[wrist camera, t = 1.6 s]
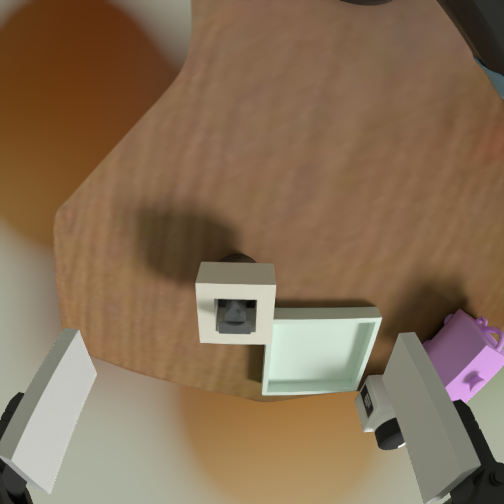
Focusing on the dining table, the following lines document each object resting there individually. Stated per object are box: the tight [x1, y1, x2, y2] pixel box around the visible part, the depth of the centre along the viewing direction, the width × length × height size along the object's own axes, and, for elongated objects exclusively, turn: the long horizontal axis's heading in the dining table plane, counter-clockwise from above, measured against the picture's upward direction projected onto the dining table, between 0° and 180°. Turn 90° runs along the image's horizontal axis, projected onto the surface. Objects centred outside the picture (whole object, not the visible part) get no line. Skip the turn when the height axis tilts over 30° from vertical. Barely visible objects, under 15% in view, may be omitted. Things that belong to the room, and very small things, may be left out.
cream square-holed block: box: [195, 262, 276, 344], centre depth 36 cm, size 9×8×4 cm
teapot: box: [422, 309, 504, 403], centre depth 42 cm, size 20×10×12 cm, turn 151°
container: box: [355, 375, 405, 450], centre depth 46 cm, size 8×8×13 cm
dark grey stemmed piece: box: [218, 254, 256, 334], centre depth 36 cm, size 6×6×11 cm
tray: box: [262, 307, 382, 395], centre depth 46 cm, size 16×16×3 cm
